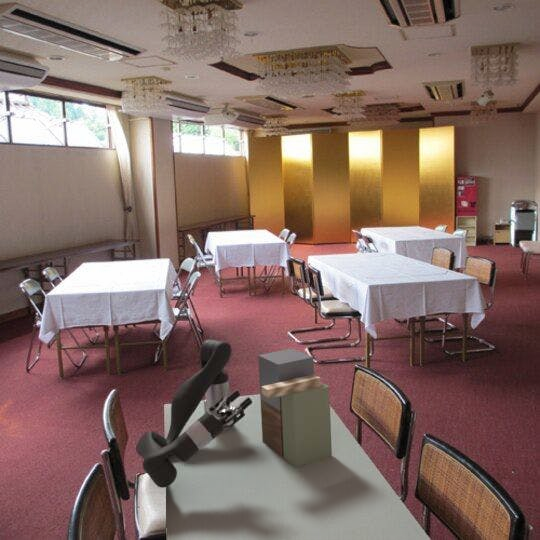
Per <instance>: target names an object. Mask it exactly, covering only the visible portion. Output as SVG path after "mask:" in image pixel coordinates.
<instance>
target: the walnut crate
mask: <svg viewBox="0 0 540 540" xmlns="http://www.w3.org/2000/svg"><path fill="white" fill-rule="evenodd" d="M260 414H261V415H260V416H261V417H260V418H261V437H262V438H261V439H262V443H264V444H265V445H267V446H268V447H269V448H270V449H272V450H273V451H275V452H276V453H277V454H278V455H280V456H282V457H284V451H283V429H282V411H279V410H278V409H276V408H275V407H273V406H271V405H270V404H268V403H266V402H265V401H263V400H261V399H260Z"/></svg>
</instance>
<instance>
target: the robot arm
mask: <svg viewBox="0 0 540 540" xmlns="http://www.w3.org/2000/svg"><path fill="white" fill-rule="evenodd" d="M231 357H232V345H231V344H230V343H229V342H226V341H222V340H216V339H206V340H204V341H203V342H202V344H201V345H200V350H199V358H200V368H201V369H200V370H199V371H198V372H195V374H192V375H191V377H188V378H187V379H186V380H185V381H184V382H182V383H181V385H180V386H179V388H178V389H177V391H176V392H175V394H174V396H173V397H172V399H171V403H170V404H171V405H170V406H171V408H170V426H169V430H168V433H167V436H166V438H165V437H164V436H162V435H161V434H159V433H158V432H156V431H154V430H153V429H152V430H147V431H146V432H144V433H143V434H142V435H141V437H140V438H139V440H138V441H137V443H136V446H135V452H136V453H137V455H138V456H140V457H141V458H142V459H143V461H142V468H143V470H144V472H146V474H147V475H148V476H149V478H150V479H151V480H152V481H153V483H154V484H155V485H156V486H157V487H158V488H168V487H170V486H171V485H172V484H173V483H174V482H175V480H176V479H177V475H178V471H177V468H176V466H174V464H173V463H172V461H171V460H170V457H169V456H172V455H173V456H175V457H176V458H177V459H179V460H180V461H181V462H184V463H186V462H187V461H189V460H190V459H192V457H194V455H196V454H198V452H199V451H200V450H202V449H203V448H205V447H206V446H207V445H209V444H210V443H211V442H212V441H213V440H214V439H215V438H216V437H218V436H219V435H220V434H221V433H222V432H223V431H224V427H227V426H228V427H229V428H232V427H233V426H234V425H236V424H237V423H238V422H239V421H240V420H242V419H243V418H244V417H245V415H246V413H245V410H246V409H247V408H249V406H251V405H252V404H253V400H252V399H251V398H250V397H249V396H247V397H246V398H245V399H243V400H242V401H241V402H240V403H239V404H238V405H236V406H231V404H232V403H233V402H235V400H237V398H238V399H239V397H240V396H241V394H240V392H239V390H237V389H235V390H234V391H232V392H231V393H230V386H229V385H230V384H229V374H228V372H227V371H226V369H224V368H225V367H226V365H228V362H229V360H230V359H231ZM204 396H205V400H203V398H204ZM202 400H203V410H204V412H203V415H202V416H200V417H199V418H198V419H197V420H196V421H194V422H193V423H192V424H191V425H190V426H189V427H188V428H187V429H186V430H185V431H184V432H183V433H182V431H183V429H184V428H185V427H186V425H187V423H188V421H190V419H191V417H192V415H193V414H194V413H195V411H196V410H197V408H198V406H199V405H200V403H201V402H202ZM181 433H182V434H181Z"/></svg>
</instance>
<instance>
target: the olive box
mask: <svg viewBox="0 0 540 540" xmlns="http://www.w3.org/2000/svg"><path fill="white" fill-rule="evenodd" d="M330 393H331V392H330V386H329V385H327V384H325V383H323V382H321V386H320V387H316V388H312V389H307V390H303V391H299V392H295V393H291V394H287V395H283V396H281V408H282V429H283V451H284V456H283V458H284V459H285V460H286V461H288V462H289V463H291V464H292V465H293V466H295V467H300V466H303V465H307V464H309V463H313V462H316V461H318V460H323V459H326V458H329V457H331V456H333V451H332V450H333V449H332V447H333V446H332V424H331V423H332V421H331V397H330V396H331V395H330Z"/></svg>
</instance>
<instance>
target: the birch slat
mask: <svg viewBox="0 0 540 540" xmlns="http://www.w3.org/2000/svg"><path fill="white" fill-rule="evenodd" d="M321 383H322V382H321V377H320V376H318V375H315V374H314V375H310V376H305V377H301V378H296V379H292V380H288V381H283V382H279V383H274V384H270V385H266V386H261V388H262V396H264V397H265V398H267V399H270V398H274V397H279V396H283V395H287V394H291V393H295V392H299V391H303V390H307V389H312V388H316V387H320V386H321Z"/></svg>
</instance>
